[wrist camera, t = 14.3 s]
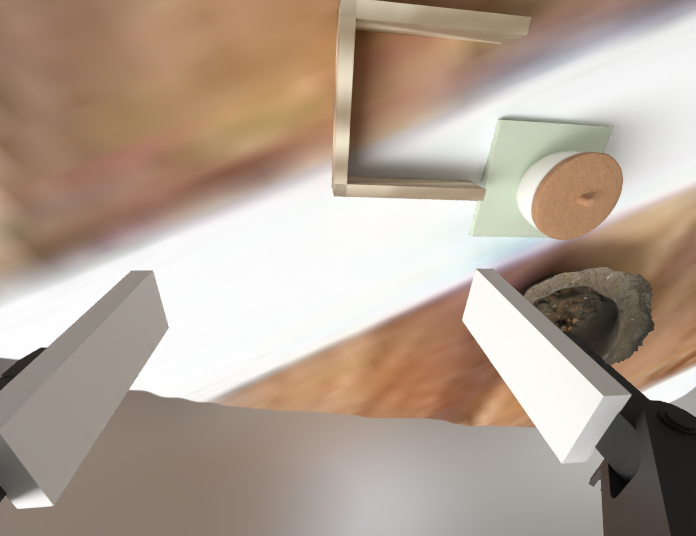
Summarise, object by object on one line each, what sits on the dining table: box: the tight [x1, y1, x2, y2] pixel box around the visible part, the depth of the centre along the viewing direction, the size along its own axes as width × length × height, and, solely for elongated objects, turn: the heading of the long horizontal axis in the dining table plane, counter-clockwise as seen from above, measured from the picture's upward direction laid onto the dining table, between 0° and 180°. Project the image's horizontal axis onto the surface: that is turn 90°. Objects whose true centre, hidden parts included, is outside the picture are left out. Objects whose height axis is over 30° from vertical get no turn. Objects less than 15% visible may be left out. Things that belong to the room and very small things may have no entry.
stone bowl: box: [519, 267, 654, 366], centre depth 53 cm, size 25×25×9 cm
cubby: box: [332, 0, 532, 201], centre depth 37 cm, size 19×20×5 cm
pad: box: [469, 120, 613, 238], centre depth 45 cm, size 16×16×1 cm
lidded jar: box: [516, 151, 623, 240], centre depth 40 cm, size 11×11×9 cm
